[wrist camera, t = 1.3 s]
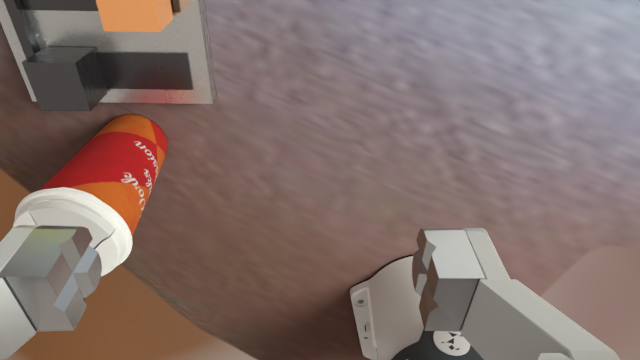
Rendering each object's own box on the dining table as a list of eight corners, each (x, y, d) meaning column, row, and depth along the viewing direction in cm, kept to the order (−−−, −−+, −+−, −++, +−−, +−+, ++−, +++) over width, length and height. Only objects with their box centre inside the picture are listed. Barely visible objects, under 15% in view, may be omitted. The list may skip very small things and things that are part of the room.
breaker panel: (216, 94, 40) (203, 123, 35) (44, 92, 40) (8, 120, 35) (195, -65, 32) (175, -55, 28) (-18, -69, 32) (-74, -60, 28)
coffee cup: (168, 184, 46) (114, 296, 34) (89, 157, 44) (1, 265, 32) (189, 121, 42) (136, 223, 29) (102, 87, 40) (6, 182, 27)
